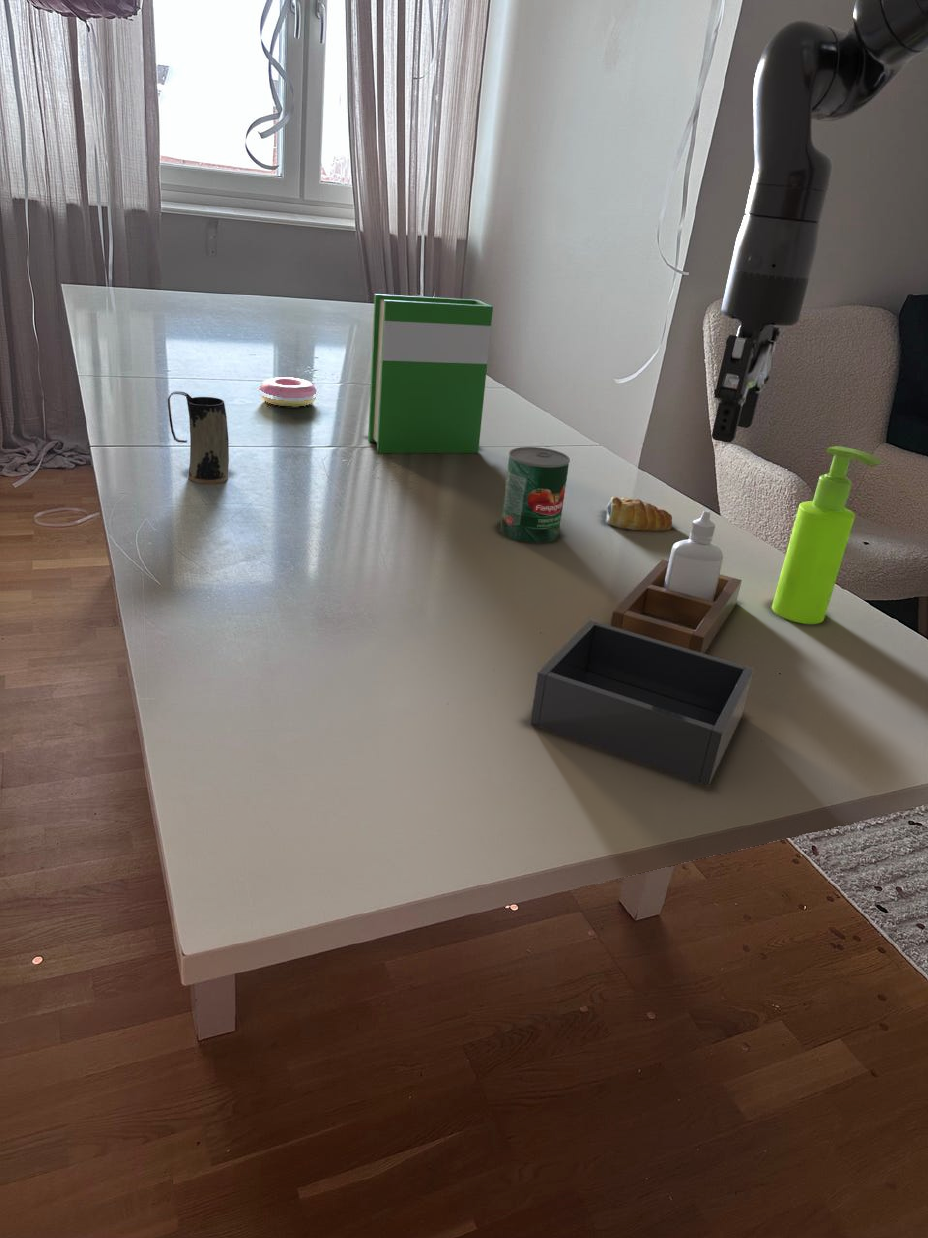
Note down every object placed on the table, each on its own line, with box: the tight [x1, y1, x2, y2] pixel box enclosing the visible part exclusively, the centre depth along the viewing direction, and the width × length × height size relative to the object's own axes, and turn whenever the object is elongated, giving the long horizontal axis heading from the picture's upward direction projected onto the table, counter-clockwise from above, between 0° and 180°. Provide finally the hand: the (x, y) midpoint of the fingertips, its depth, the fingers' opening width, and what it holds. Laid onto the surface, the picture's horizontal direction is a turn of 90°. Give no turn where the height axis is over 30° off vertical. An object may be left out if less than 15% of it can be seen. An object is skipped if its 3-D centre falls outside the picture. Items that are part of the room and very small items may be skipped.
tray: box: [609, 558, 742, 654], centre depth 99 cm, size 10×18×4 cm, turn 152°
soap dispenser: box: [771, 445, 884, 625], centre depth 99 cm, size 6×7×20 cm
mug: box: [167, 390, 230, 485], centre depth 126 cm, size 8×6×12 cm
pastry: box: [605, 496, 673, 532], centre depth 126 cm, size 9×7×4 cm
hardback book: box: [367, 293, 494, 454], centre depth 149 cm, size 18×7×24 cm, turn 108°
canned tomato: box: [500, 446, 571, 544], centre depth 117 cm, size 8×8×11 cm
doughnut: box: [259, 376, 318, 408], centre depth 172 cm, size 11×11×4 cm
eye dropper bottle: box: [663, 509, 724, 602], centre depth 100 cm, size 4×6×12 cm
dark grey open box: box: [529, 619, 755, 788], centre depth 78 cm, size 16×13×6 cm
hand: (731, 433), depth 94 cm, fingers open, 8 cm apart
